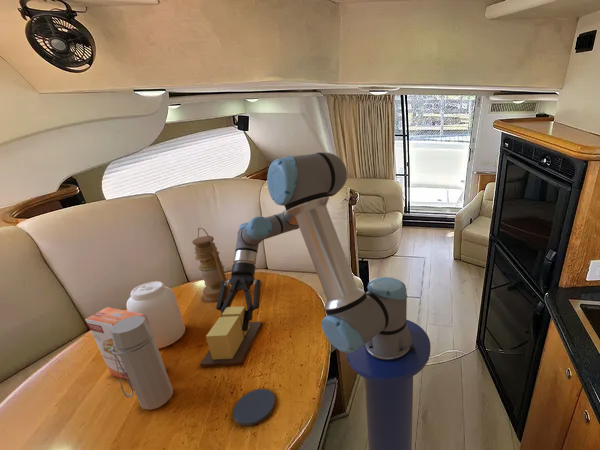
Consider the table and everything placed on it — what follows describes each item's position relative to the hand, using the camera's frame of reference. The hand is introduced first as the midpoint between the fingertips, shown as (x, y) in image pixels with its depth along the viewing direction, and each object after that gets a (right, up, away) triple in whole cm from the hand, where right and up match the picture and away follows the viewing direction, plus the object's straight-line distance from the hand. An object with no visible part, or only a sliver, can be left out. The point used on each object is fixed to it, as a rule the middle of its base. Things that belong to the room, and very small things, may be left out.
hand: (234, 331), depth 104 cm
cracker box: (-22, -9, -12) cm, 26 cm away
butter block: (0, -4, -4) cm, 6 cm away
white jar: (-25, -3, +3) cm, 26 cm away
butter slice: (0, -1, +3) cm, 3 cm away
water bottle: (-11, -12, -20) cm, 26 cm away
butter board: (0, -4, 0) cm, 4 cm away
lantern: (-21, +6, +26) cm, 34 cm away
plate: (+17, -13, -22) cm, 31 cm away
